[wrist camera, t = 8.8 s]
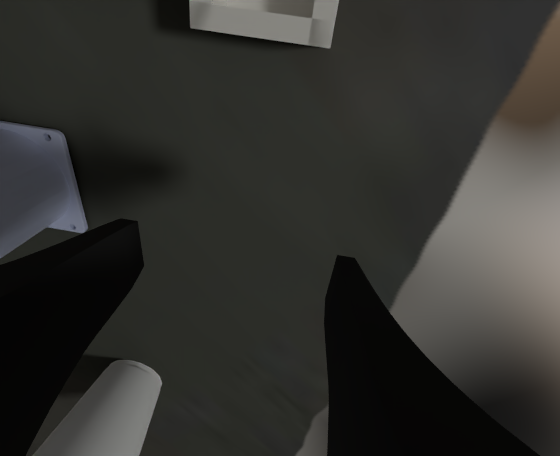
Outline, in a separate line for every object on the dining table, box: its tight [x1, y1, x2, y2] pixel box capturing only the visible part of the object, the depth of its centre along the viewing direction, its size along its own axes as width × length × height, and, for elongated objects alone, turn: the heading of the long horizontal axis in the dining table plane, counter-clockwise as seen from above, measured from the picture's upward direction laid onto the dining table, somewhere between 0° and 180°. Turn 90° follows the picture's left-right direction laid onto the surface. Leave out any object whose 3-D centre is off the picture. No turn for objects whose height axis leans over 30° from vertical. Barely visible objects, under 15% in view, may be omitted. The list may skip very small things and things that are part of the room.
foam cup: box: [33, 360, 162, 456], centre depth 30 cm, size 10×9×13 cm
